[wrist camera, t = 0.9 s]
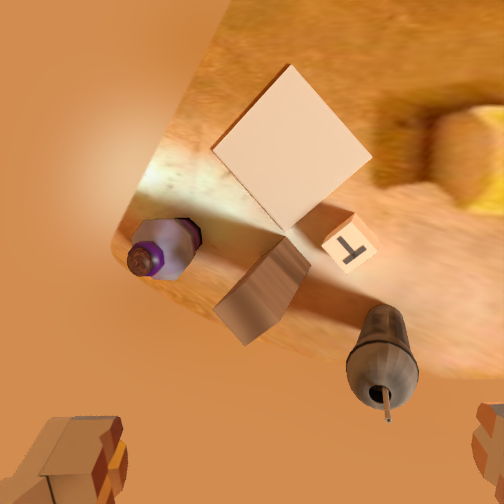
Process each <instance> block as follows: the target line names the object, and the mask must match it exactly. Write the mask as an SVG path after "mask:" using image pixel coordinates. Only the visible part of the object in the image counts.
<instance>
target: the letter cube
mask: <svg viewBox="0 0 504 504" xmlns="http://www.w3.org/2000/svg"><path fill="white" fill-rule="evenodd" d="M321 246H322V247H323V248H324V249H325V251H326V252H327V253H328V254H329V255H330V256H331V257H332V258H333V260H334V261H335V262H336V263H337V264H338V265H339V266H340V267H341V269H342V270H343V271H344V272H345V273H346V274H348V273H349V272H351V271H352V270H353V269H355V268H356V267H357V266H359V265H360V264H362V263H363V262H364V261H366V260H367V259H368V258H370V257H371V256H373V255H374V254H375V253H377V252H378V247H379V239H378V238H377V237H376V236H375V235H374V234H373V233H372V231H371V230H370V229H369V228H368V227H367V226H366V225H365V223H364V222H363V221H362V220H361V219H360V218H359V217H358V216H357V214H356V213H354V214H353V215H352V216H350V217H349V218H348V219H347V220H345V221H344V222H343V223H342V224H340V225H339V226H338V227H337V228H335V229H334V230H333V231H332V232H330V233H329V234H328V235H327V236H326V238H325V240H324V242H323V243H322V245H321Z"/></svg>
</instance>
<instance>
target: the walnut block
mask: <svg viewBox="0 0 504 504" xmlns="http://www.w3.org/2000/svg"><path fill="white" fill-rule="evenodd" d="M310 266H311V264H310V263H309V262H308V261H307V260H306V259H305V257H304V256H303V255H302V254H301V253H300V252H299V251H298V250H297V248H296V247H295V246H294V245H293V244H292V243H291V242H290V241H289V239H288V238H287V237H285V238H283V239H282V240H281V241H280V242H279V243H278V244H276V245H275V246H274V247H273V248H272V249H271V250H269V251H268V252H267V253H266V254H265V255H263V256H262V257H261V258H260V259H259V260H258V261H257V262H256V263H255V264H254V265H253V266H252V267H251V269H250V270H249V271H248V272H247V273H246V274H245V275H244V276H243V277H242V278H241V279H240V280H239V281H238V283H237V284H236V285H235V286H234V287H233V288H232V289H231V290H230V291H229V292H228V293H227V294H226V295H225V297H224V298H223V299H222V300H221V301H220V302H219V303H218V304H217V305H216V306H215V307H214V308H213V309H212V310H213V311H214V312H215V313H216V314H217V316H218V317H219V318H220V319H221V320H222V321H223V322H224V323H225V324H226V326H227V327H228V328H229V329H230V330H231V331H232V332H233V333H234V334H235V336H236V337H237V338H238V339H239V340H240V341H241V342H242V343H243V345H244V346H246V345H247V344H249V343H250V342H252V341H253V340H254V339H256V338H257V337H258V336H260V335H261V334H263V333H264V332H265V331H267V330H268V329H269V328H271V327H272V326H274V325H275V324H276V323H278V322H279V321H280V320H281V318H282V316H283V314H284V313H285V311H286V309H287V307H288V306H289V304H290V302H291V300H292V298H293V297H294V295H295V293H296V291H297V290H298V288H299V286H300V284H301V282H302V281H303V279H304V277H305V275H306V273H307V272H308V270H309V268H310Z"/></svg>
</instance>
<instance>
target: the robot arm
mask: <svg viewBox="0 0 504 504" xmlns="http://www.w3.org/2000/svg"><path fill="white" fill-rule="evenodd" d="M476 417H477V419H478V420H479V422H480V423H481V425H480V426H479V427H478V428H477V429H476V430H475V431H474V432H473V437H472V444H471V445H472V451H473V457H474V460H475V462H476V465H477V467H478V469H479V471H480V473H481V474H482V476H483V478H485V479H486V480H488V481H489V482H490V483H492V484H493V485H495V486H496V492H495V497H496V499H497V500H498V502H499V504H504V402H485V403H481V404H480V406H479V407H478V410H477V415H476ZM122 432H123V425H122V422H121V418H120V417H118V416H75V417H52V418H51V419H50V420H48V421H47V422H46V424H45V425H44V427H43V428H42V430H41V432H40V433H39V435H38V436H37V438H36V440H35V441H34V443H33V445H32V446H31V448H30V449H29V451H28V453H27V454H26V456H25V457H24V459H23V461H22V462H21V464H20V465H19V467H18V469H17V470H16V472H15V473H14V475H13V477H12V478H4V479H3V480H1V481H0V504H115V499H114V498H115V497H116V496H117V495H118V494H119V493H120V492H121V491H122V490H123V487H124V484H125V480H126V476H127V468H128V453H127V446H126V444H125V443H124V442H122V441H121V440H120V438H121V435H122Z"/></svg>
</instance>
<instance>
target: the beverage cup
mask: <svg viewBox="0 0 504 504" xmlns="http://www.w3.org/2000/svg"><path fill="white" fill-rule="evenodd" d="M346 372H347V378H348V382H349V385H350V387H351V390H352V391H353V392H354V394H355V395H356V396H357V398H358V399H359V400H360V401H362V402H363V403H364V404H366V405H368V406H370V407H372V408H375V409H380V410H385V420H386V422H387V423H391V421H392V418H391V411H390V409H395V408H397V407H400V406H402V405H403V404H404V403H405V402H407V401H408V400H409V399H410V397H411V396H412V394H413V392H414V390H415V388H416V384H417V382H418V376H419V369H418V366H417V363H416V360H415V359H414V357H413V355H412V352H411V350H410V345H409V341H408V336H407V332H406V327H405V323H404V320H403V317H402V315H401V313H400V312H399V311H398V310H397V309H396V308H394V307H392V306H390V305H378V306H376V307H374V308H372V309H371V310H370V311H369V313H368V315H367V317H366V319H365V322H364V324H363V327H362V330H361V333H360V335H359V338H358V341H357V344H356V345H355V347H354V348H353V350H352V351H351V352H350V354H349V356H348V358H347V361H346Z"/></svg>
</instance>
